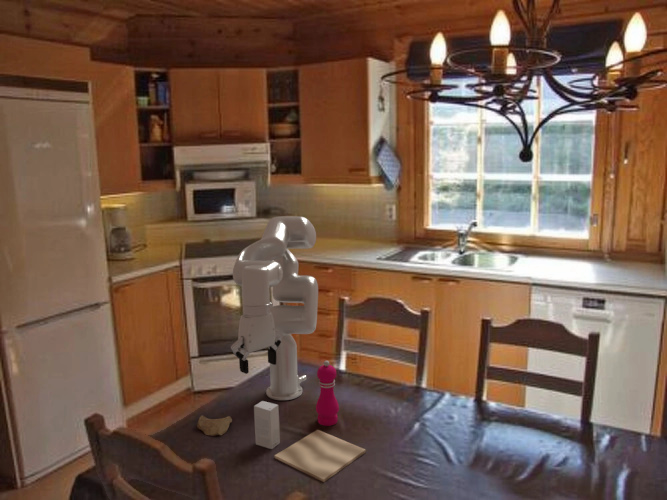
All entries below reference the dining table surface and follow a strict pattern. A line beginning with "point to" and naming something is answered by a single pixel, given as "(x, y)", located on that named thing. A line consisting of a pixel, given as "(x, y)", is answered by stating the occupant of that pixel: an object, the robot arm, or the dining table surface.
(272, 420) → the skincare box
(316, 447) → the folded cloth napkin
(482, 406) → the dining table surface
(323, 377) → the pepper mill
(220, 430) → the pottery shard
